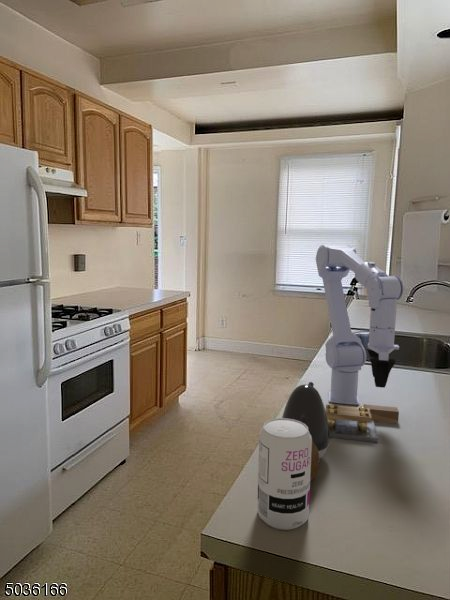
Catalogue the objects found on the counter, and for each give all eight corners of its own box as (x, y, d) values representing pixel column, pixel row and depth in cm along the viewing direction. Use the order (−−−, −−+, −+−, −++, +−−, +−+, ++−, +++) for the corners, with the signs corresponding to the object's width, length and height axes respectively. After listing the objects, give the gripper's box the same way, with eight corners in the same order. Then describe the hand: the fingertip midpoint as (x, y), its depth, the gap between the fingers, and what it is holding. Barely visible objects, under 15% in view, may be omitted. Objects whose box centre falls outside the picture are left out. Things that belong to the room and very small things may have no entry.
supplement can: (274, 494, 76) (277, 412, 74) (317, 513, 71) (321, 426, 69) (247, 517, 70) (249, 428, 67) (292, 540, 64) (295, 444, 62)
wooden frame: (326, 409, 106) (326, 404, 106) (369, 413, 103) (369, 408, 103) (326, 418, 100) (326, 413, 100) (371, 422, 98) (371, 417, 98)
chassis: (318, 418, 109) (319, 398, 108) (373, 424, 106) (374, 403, 105) (317, 435, 99) (318, 413, 98) (377, 442, 96) (378, 419, 95)
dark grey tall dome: (332, 450, 92) (336, 381, 90) (323, 473, 83) (327, 396, 81) (285, 441, 96) (288, 374, 94) (271, 462, 87) (274, 388, 85)
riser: (362, 415, 111) (363, 404, 111) (396, 418, 109) (397, 407, 109) (363, 420, 108) (364, 408, 108) (398, 423, 106) (398, 411, 106)
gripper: (404, 334, 96) (400, 393, 97) (396, 322, 110) (392, 374, 111) (370, 332, 97) (367, 390, 99) (367, 320, 111) (363, 371, 113)
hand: (378, 381), depth 105 cm, fingers open, 7 cm apart
